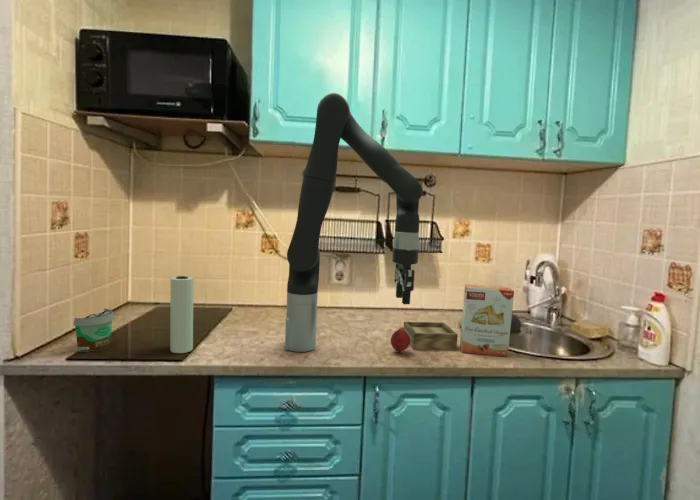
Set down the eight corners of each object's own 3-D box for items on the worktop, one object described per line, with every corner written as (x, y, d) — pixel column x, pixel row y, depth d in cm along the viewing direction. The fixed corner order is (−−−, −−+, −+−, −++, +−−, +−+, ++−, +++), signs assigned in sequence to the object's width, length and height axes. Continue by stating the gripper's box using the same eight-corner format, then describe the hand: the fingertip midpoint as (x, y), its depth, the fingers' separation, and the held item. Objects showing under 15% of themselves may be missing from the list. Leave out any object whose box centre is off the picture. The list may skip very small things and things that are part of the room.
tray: (413, 349, 135) (414, 333, 134) (403, 335, 149) (403, 321, 148) (456, 349, 136) (457, 334, 136) (442, 336, 150) (443, 322, 150)
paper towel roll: (187, 354, 121) (188, 279, 119) (166, 353, 122) (166, 278, 119) (197, 346, 129) (198, 275, 126) (177, 345, 129) (177, 274, 127)
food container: (93, 356, 117) (93, 320, 116) (73, 354, 118) (73, 318, 117) (124, 342, 129) (124, 309, 128) (106, 340, 130) (105, 308, 129)
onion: (397, 357, 127) (398, 330, 126) (386, 350, 132) (387, 325, 131) (413, 354, 130) (414, 328, 129) (401, 348, 135) (403, 323, 134)
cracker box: (461, 353, 133) (466, 286, 131) (459, 347, 139) (464, 283, 137) (508, 357, 131) (514, 290, 129) (504, 351, 137) (510, 286, 135)
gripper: (388, 244, 135) (385, 295, 136) (398, 249, 121) (395, 306, 122) (412, 245, 135) (408, 296, 137) (424, 250, 121) (421, 306, 123)
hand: (402, 300), depth 130 cm, fingers open, 8 cm apart
